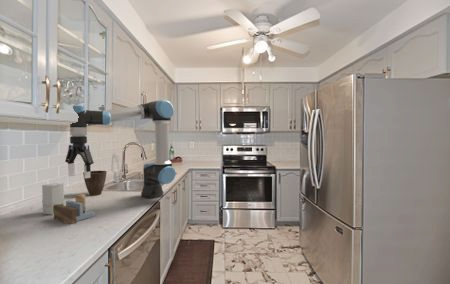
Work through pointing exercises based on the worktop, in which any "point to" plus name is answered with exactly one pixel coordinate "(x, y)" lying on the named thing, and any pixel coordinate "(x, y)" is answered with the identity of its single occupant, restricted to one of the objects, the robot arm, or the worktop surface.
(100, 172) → the plant pot
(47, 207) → the skincare box
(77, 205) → the fork block
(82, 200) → the dowel
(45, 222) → the worktop surface
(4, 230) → the worktop surface
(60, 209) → the board
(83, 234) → the worktop surface
